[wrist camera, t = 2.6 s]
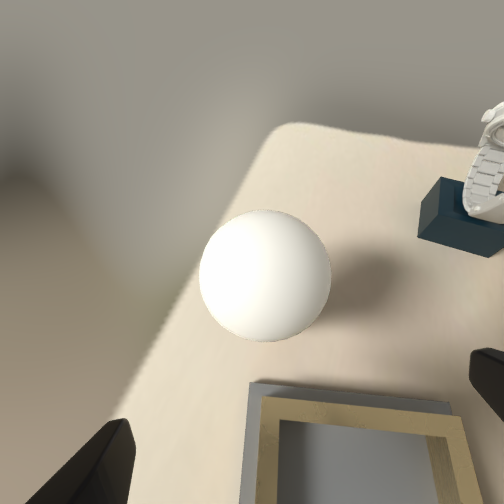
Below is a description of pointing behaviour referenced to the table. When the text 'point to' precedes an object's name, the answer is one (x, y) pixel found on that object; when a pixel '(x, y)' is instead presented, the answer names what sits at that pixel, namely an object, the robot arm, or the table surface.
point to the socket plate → (353, 449)
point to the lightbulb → (265, 276)
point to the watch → (470, 199)
